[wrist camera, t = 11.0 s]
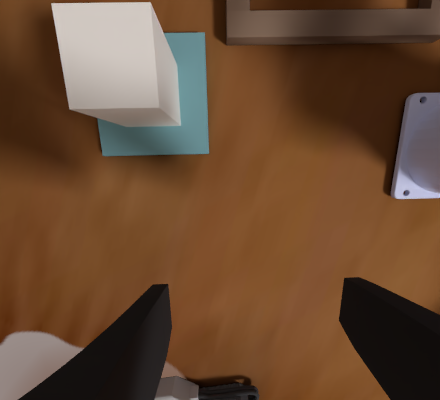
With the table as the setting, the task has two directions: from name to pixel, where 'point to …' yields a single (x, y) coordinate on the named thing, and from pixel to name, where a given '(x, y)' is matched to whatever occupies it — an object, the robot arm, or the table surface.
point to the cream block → (117, 63)
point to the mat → (189, 110)
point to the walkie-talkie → (202, 391)
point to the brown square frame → (331, 25)
